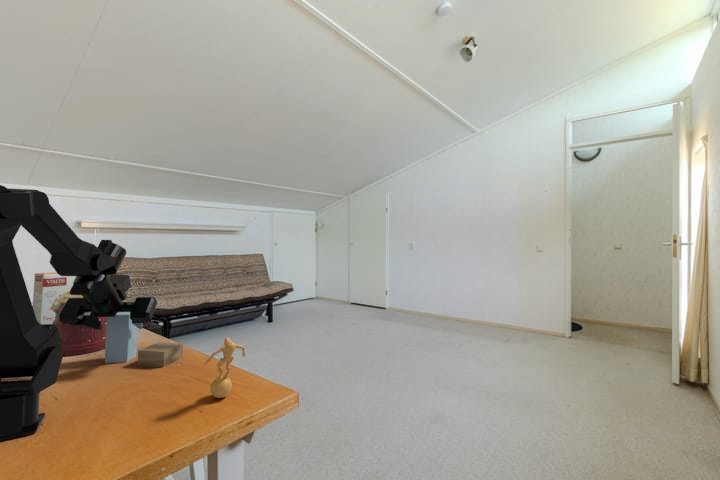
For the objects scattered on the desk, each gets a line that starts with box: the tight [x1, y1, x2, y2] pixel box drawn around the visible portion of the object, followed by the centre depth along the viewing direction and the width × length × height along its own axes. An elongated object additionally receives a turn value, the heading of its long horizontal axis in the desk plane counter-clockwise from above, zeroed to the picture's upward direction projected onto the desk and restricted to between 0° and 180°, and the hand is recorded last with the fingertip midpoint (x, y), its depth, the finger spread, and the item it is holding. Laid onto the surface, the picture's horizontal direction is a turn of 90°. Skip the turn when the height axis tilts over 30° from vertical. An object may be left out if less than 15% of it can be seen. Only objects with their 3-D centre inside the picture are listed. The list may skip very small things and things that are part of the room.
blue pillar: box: [104, 312, 139, 364], centre depth 83 cm, size 5×5×12 cm
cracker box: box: [32, 272, 76, 324], centre depth 100 cm, size 14×6×21 cm, turn 155°
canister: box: [52, 295, 107, 356], centre depth 91 cm, size 13×13×18 cm
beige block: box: [137, 341, 184, 368], centre depth 82 cm, size 7×7×4 cm
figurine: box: [203, 337, 246, 399], centre depth 63 cm, size 8×6×12 cm
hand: (121, 327), depth 83 cm, fingers open, 9 cm apart
